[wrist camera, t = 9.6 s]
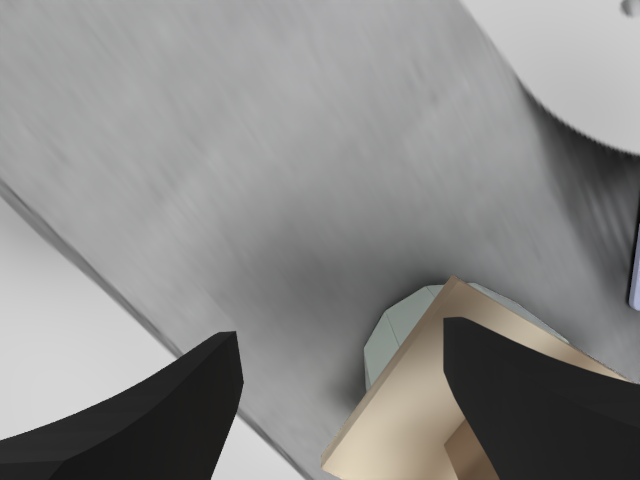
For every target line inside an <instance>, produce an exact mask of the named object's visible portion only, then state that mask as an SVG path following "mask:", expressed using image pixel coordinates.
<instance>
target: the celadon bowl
mask: <svg viewBox="0 0 640 480" xmlns="http://www.w3.org/2000/svg"><path fill="white" fill-rule="evenodd" d="M467 284H469V285H471V286H472V287H474V288H476V289H477V290H479V291H481V292H483V293H484V294H486V295H488V296H489V297H491V298H493V299H494V300H496V301H498V302H499V303H501V304H503V305H504V306H506V307H508V308H509V309H511V310H513V311H514V312H516V313H518V314H520V315H521V316H523V317H525V318H526V319H528V320H530V321H531V322H533V323H535V324H536V325H538V326H540V327H541V328H543V329H545V330H546V331H548V332H550V333H551V334H553V335H555V336H556V337H558V338H560V339H562V340H563V341H565V342H567V343H568V344H569V342H568V340H567V339H565V338H564V337H562V336H561V335H560V334H558V333H557V332H556V331H554V330H553V329H552V328H550V327H549V326H547V325H546V324H545V323H543V322H542V321H541V320H539V319H538V318H536V317H535V316H534V315H532V314H531V313H530V312H528V311H527V310H526V309H524V308H523V307H521V306H520V305H519V304H517V303H516V302H514V301H512V300H510V299H508V298H506V297H504V296H502V295H500V294H497V293H495V292H493V291H491V290H489V289H487V288H485V287H483V286H481V285H478V284H476V283H467ZM443 286H444V285H431V286H425V287H423V288H421V289H420V290H418V291H417V292H415V293H413V294H412V295H410V296H408V297H407V298H405V299H403V300H402V301H400V302H399V303H397V304H395V305H394V306H392V307H390V308H389V309H387V310H385V312H384V313H383V315H382V317H381V319H380V321H379V322H378V324H377V326H376V328H375V329H374V331H373V333H372V335H371V337H370V338H369V340H368V342H367V344H366V345H365V347H364V364H365V381H366V392H368V390H369V389H370V387H371V386H372V385H373V383H374V382H375V381H376V379H377V378H378V376H379V375H380V374H381V372H382V371H383V369H384V368H385V367H386V365H387V364H388V363H389V361H390V360H391V358H392V357H393V356H394V354H395V353H396V351H397V350H398V349H399V347H400V346H401V345H402V343H403V342H404V340H405V339H406V338H407V336H408V335H409V333H410V332H411V331H412V329H413V328H414V327H415V325H416V324H417V322H418V321H419V320H420V318H421V317H422V316H423V314H424V313H425V311H426V310H427V309H428V307H429V306H430V304H431V303H432V302H433V300H434V299H435V298H436V296H437V295H438V293H439V292H440V291H441V289H442V288H443Z"/></svg>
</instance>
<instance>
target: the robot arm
mask: <svg viewBox="0 0 640 480" xmlns="http://www.w3.org/2000/svg"><path fill="white" fill-rule="evenodd" d="M629 305H630V307H632V308H634V309H636V310H639V311H640V225H639V233H638V240H637V247H636V254H635V262H634V269H633V276H632V283H631V291H630V298H629ZM443 372H444V374H445V377H446V379H447V382H448V384H449V387H450V389H451V392H452V394H453V396H454V398H455V400H456V402H457V404H458V406H459V408H460V409H461V411H462V413H463V415H464V416H465V418H466V420H467V422H468V423H469V425H470V427H471V429H472V430H473V432H474V434H475V436H476V437H477V439H478V441H479V443H480V444H481V446H482V448H483V450H484V451H485V453H486V455H487V457H488V458H489V460H490V462H491V464H492V466H493V468H494V470H495V471H496V473H497V475H498V477H499V479H500V480H640V385H639V384H635V383H631V382H628V381H624V380H620V379H617V378H613V377H610V376H606V375H602V374H599V373H596V372H593V371H590V370H586V369H584V368H581V367H578V366H575V365H572V364H569V363H566V362H564V361H561V360H558V359H555V358H553V357H550V356H548V355H545V354H543V353H540V352H538V351H536V350H533V349H531V348H529V347H526V346H524V345H522V344H520V343H518V342H515V341H513V340H511V339H509V338H507V337H505V336H503V335H501V334H499V333H496V332H494V331H492V330H490V329H488V328H486V327H484V326H482V325H480V324H478V323H476V322H474V321H471V320H469V319H467V318H464V317H447V318H443ZM243 384H244V381H243V374H242V367H241V361H240V354H239V348H238V341H237V334H236V331H232V332H219V333H217V334H215V335H213V336H211V337H210V338H208V339H207V340H205V341H204V342H202V343H201V344H199V345H198V346H196V347H195V348H193V349H192V350H191V351H189V352H188V353H186V354H185V355H183V356H182V357H180V358H179V359H177V360H176V361H174V362H173V363H171V364H169V365H168V366H166V367H165V368H163V369H161V370H160V371H158V372H157V373H155V374H154V375H152V376H150V377H149V378H147V379H145V380H144V381H142V382H140V383H138V384H136V385H135V386H133V387H131V388H129V389H127V390H125V391H123V392H121V393H119V394H117V395H115V396H113V397H112V398H109V399H107V400H105V401H102V402H100V403H98V404H96V405H94V406H91V407H89V408H87V409H85V410H82V411H80V412H78V413H76V414H73V415H71V416H68V417H66V418H63V419H60V420H58V421H56V422H53V423H50V424H48V425H45V426H42V427H39V428H36V429H34V430H31V431H28V432H25V433H22V434H19V435H16V436H13V437H10V438H6V439H3V440H0V480H211V477H212V474H213V472H214V469H215V467H216V464H217V462H218V459H219V456H220V454H221V451H222V449H223V446H224V443H225V441H226V438H227V436H228V433H229V431H230V428H231V425H232V423H233V420H234V417H235V415H236V412H237V409H238V405H239V401H240V397H241V393H242V388H243Z"/></svg>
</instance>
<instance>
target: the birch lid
mask: <svg viewBox="0 0 640 480" xmlns="http://www.w3.org/2000/svg"><path fill="white" fill-rule="evenodd" d="M447 317H464V318H467V319H469V320H471V321H474V322H476V323H478V324H480V325H482V326H484V327H486V328H488V329H490V330H492V331H494V332H496V333H499V334H501V335H503V336H505V337H507V338H509V339H511V340H513V341H515V342H518V343H520V344H522V345H524V346H526V347H529V348H531V349H533V350H536V351H538V352H540V353H543V354H545V355H548V356H550V357H553V358H555V359H558V360H561V361H564V362H566V363H569V364H572V365H575V366H578V367H581V368H584V369H586V370H590V371H593V372H596V373H599V374H602V375H606V376H610V377H613V378H617V379H620V380H624V381H628V382H631V383H634V382H632V381H630V380H629V379H627V378H625V377H624V376H622V375H620V374H619V373H617V372H615V371H614V370H612V369H610V368H609V367H607V366H605V365H604V364H602V363H600V362H599V361H597V360H595V359H594V358H592V357H590V356H588V355H587V354H585V353H583V352H582V351H580V350H578V349H577V348H575V347H573V346H572V345H570V344H568V343H567V342H565V341H563V340H562V339H560V338H558V337H556V336H555V335H553V334H551V333H550V332H548V331H546V330H545V329H543V328H541V327H540V326H538V325H536V324H535V323H533V322H531V321H530V320H528V319H526V318H525V317H523V316H521V315H520V314H518V313H516V312H514V311H513V310H511V309H509V308H508V307H506V306H504V305H503V304H501V303H499V302H498V301H496V300H494V299H493V298H491V297H489V296H488V295H486V294H484V293H483V292H481V291H479V290H477V289H476V288H474V287H472V286H471V285H469V284H467V283H466V282H464V281H462V280H461V279H459V278H457V277H456V276H454V275H451V277H450V278H449V280H448V281H447V282H446V284H445V285H444V286H443V288H442V289H441V291H440V292H439V293H438V295H437V296H436V298H435V299H434V300H433V302H432V303H431V304H430V306H429V307H428V309H427V310H426V311H425V313H424V314H423V316H422V317H421V318H420V320H419V321H418V322H417V324H416V325H415V327H414V328H413V329H412V331H411V332H410V333H409V335H408V336H407V338H406V339H405V340H404V342H403V343H402V345H401V346H400V347H399V349H398V350H397V351H396V353H395V354H394V356H393V357H392V358H391V360H390V361H389V363H388V364H387V365H386V367H385V368H384V369H383V371H382V372H381V374H380V375H379V376H378V378H377V379H376V381H375V382H374V383H373V385H372V386H371V387H370V389H369V390H368V392H367V393H366V394H365V396H364V397H363V399H362V400H361V401H360V403H359V404H358V405H357V407H356V408H355V410H354V411H353V412H352V414H351V415H350V417H349V418H348V419H347V421H346V422H345V423H344V425H343V426H342V428H341V429H340V430H339V432H338V433H337V435H336V436H335V437H334V439H333V440H332V441H331V443H330V444H329V446H328V447H327V448H326V450H325V451H324V452H323V454H322V455H321V469H323V470H325V471H327V472H329V473H331V474H333V475H335V476H337V477H339V478H341V479H343V480H500V479H499V477H498V475H497V473H496V471H495V470H494V468H493V466H492V464H491V462H490V460H489V458H488V457H487V455H486V453H485V451H484V450H483V448H482V446H481V444H480V443H479V441H478V439H477V437H476V436H475V434H474V432H473V430H472V429H471V427H470V425H469V423H468V422H467V420H466V418H465V416H464V415H463V413H462V411H461V409H460V408H459V406H458V404H457V402H456V400H455V398H454V396H453V394H452V392H451V389H450V387H449V384H448V382H447V379H446V377H445V374H444V372H443V318H447ZM635 384H636V383H635Z"/></svg>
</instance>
